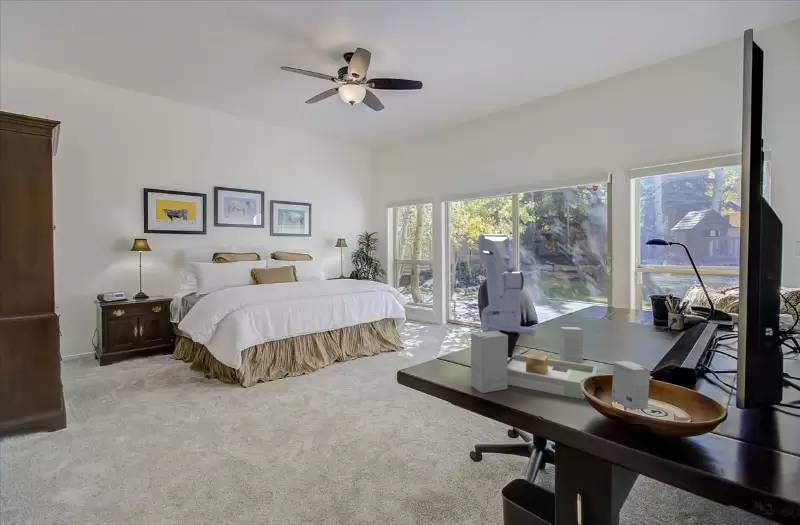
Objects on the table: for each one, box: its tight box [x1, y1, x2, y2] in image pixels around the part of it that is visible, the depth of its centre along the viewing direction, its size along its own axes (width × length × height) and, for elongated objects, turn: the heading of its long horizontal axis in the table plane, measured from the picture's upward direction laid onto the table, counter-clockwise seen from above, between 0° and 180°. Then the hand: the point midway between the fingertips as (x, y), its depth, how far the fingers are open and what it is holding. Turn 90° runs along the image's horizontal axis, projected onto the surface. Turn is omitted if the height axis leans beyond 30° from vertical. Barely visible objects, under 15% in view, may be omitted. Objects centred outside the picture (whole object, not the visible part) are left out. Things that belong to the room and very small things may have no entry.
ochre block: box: [526, 353, 549, 374], centre depth 106 cm, size 5×5×4 cm
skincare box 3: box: [610, 360, 651, 410], centre depth 81 cm, size 6×4×12 cm
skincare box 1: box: [470, 331, 509, 394], centre depth 99 cm, size 8×6×15 cm
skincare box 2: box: [559, 326, 584, 364], centre depth 121 cm, size 6×4×12 cm
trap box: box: [507, 353, 599, 400], centre depth 105 cm, size 24×18×4 cm
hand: (509, 356), depth 110 cm, fingers closed
